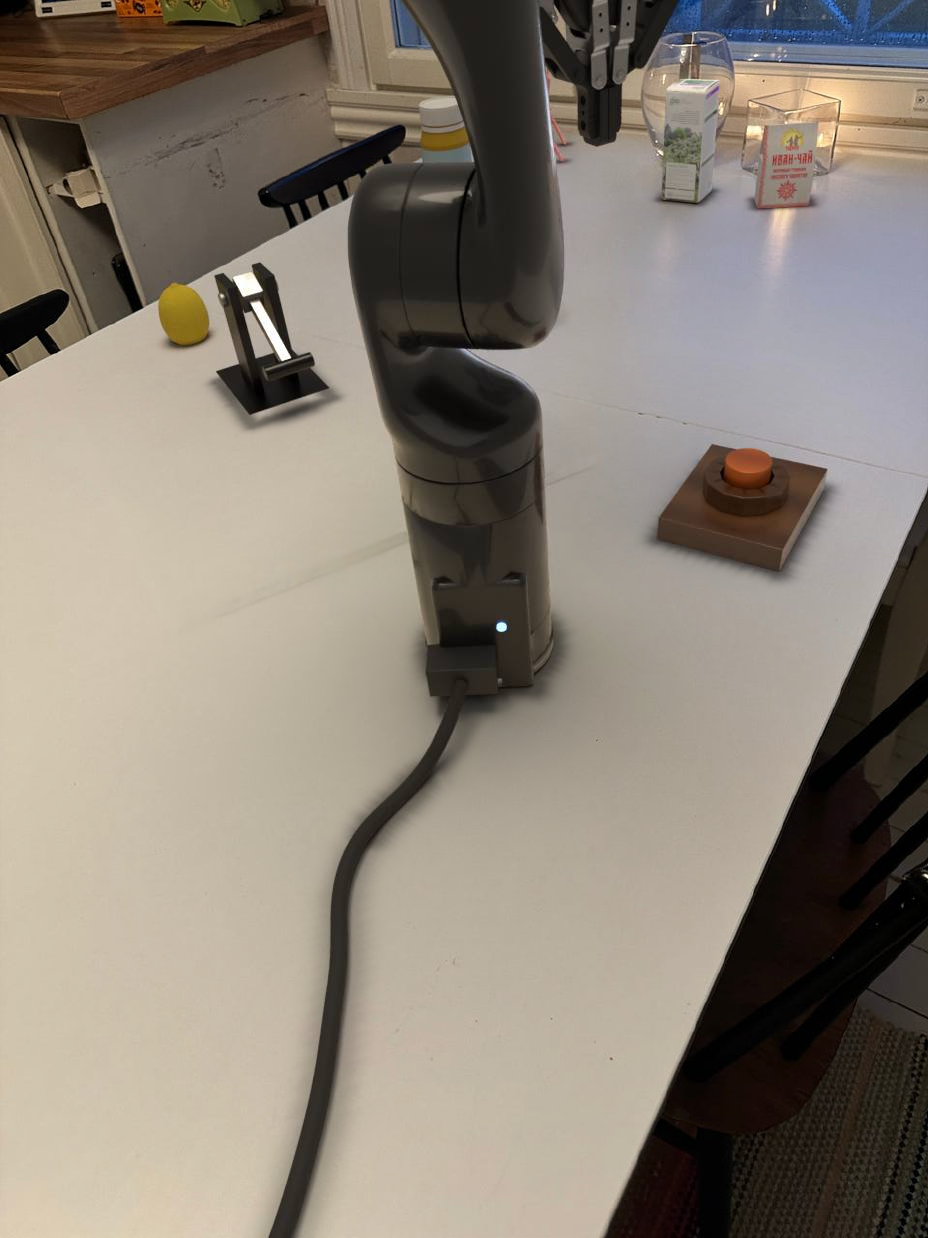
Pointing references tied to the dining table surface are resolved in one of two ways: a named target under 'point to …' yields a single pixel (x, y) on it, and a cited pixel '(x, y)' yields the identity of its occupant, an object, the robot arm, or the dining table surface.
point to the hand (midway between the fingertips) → (599, 141)
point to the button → (747, 468)
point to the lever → (269, 329)
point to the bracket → (248, 373)
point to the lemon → (183, 315)
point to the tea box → (786, 165)
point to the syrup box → (689, 139)
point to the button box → (742, 511)
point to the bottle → (443, 131)
